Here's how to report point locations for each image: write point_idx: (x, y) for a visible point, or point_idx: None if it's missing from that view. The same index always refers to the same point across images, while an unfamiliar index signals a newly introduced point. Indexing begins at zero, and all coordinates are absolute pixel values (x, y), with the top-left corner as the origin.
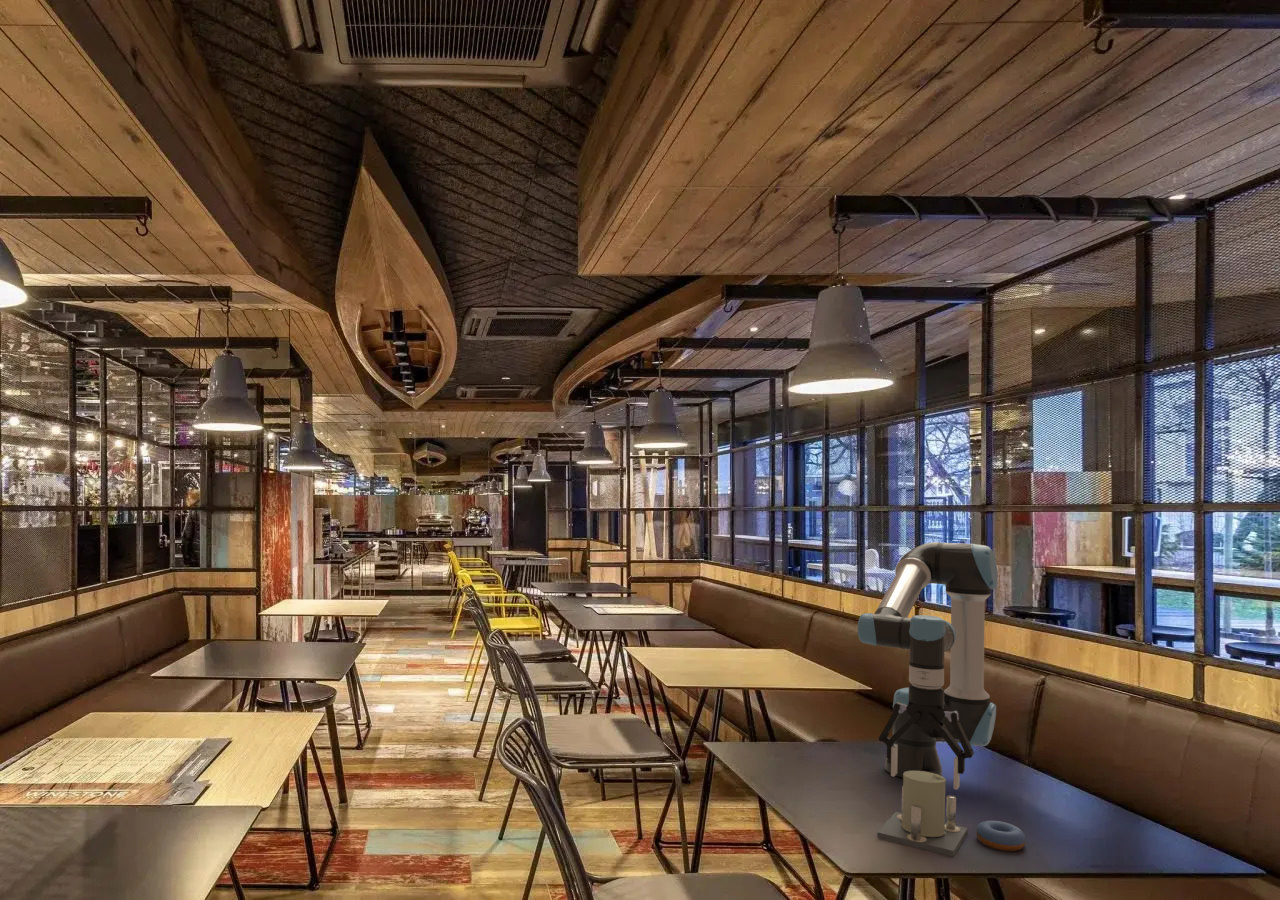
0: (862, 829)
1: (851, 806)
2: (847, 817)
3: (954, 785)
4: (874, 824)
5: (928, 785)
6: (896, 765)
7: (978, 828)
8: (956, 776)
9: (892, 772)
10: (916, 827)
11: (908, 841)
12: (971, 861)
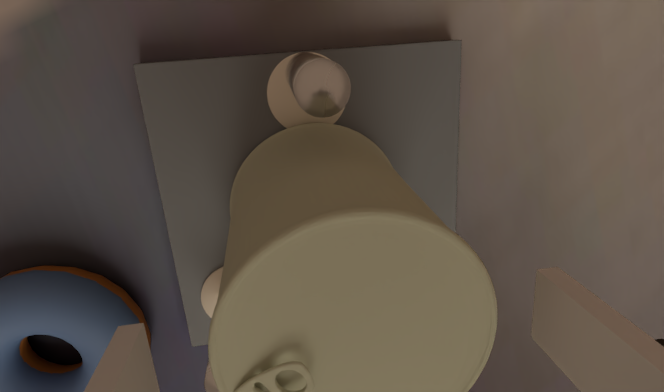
0: (520, 89)
1: (596, 281)
2: (591, 169)
3: (129, 338)
4: (493, 175)
5: (287, 224)
6: (568, 355)
7: (121, 321)
8: (89, 390)
9: (563, 281)
10: (302, 56)
11: (328, 49)
12: (64, 68)
